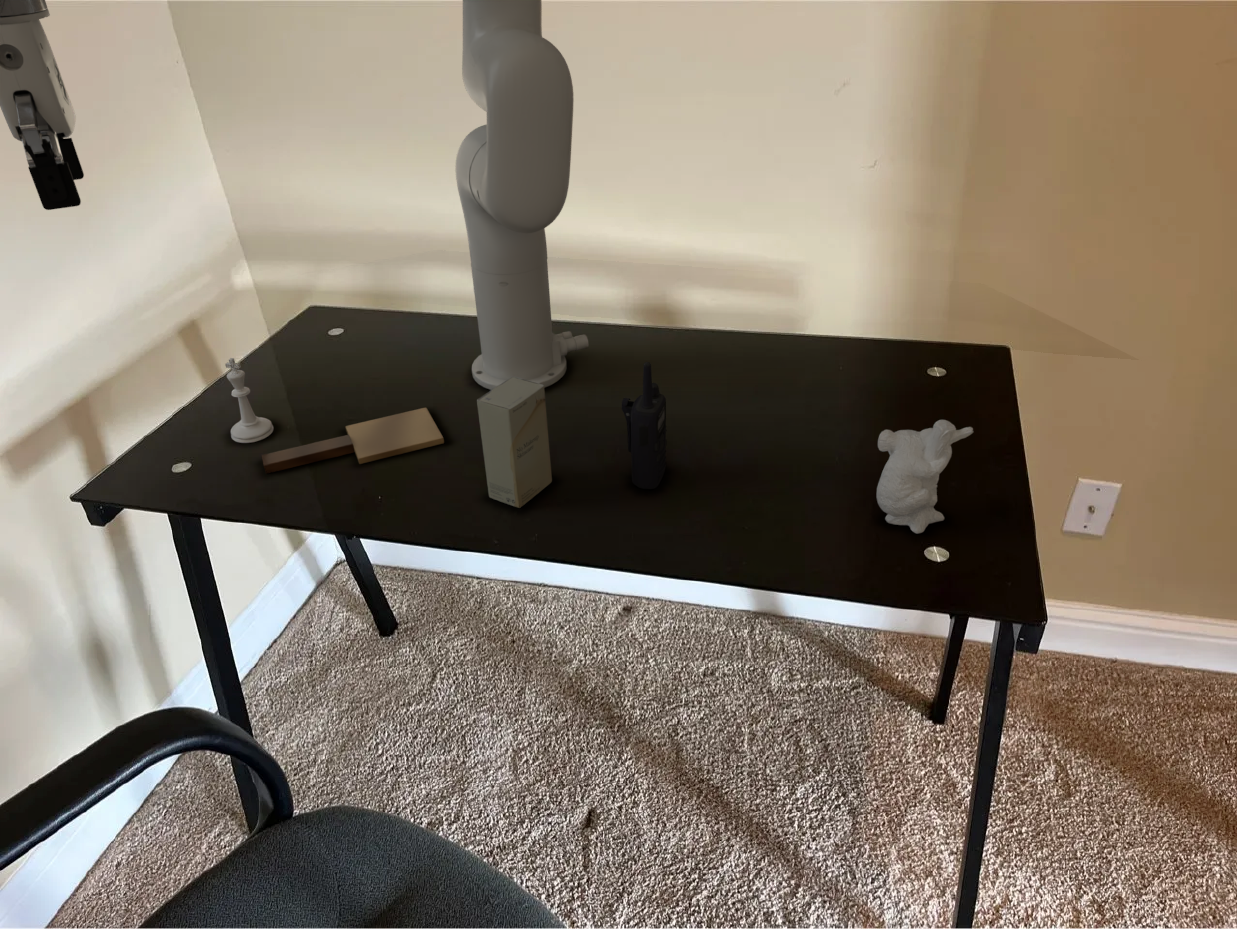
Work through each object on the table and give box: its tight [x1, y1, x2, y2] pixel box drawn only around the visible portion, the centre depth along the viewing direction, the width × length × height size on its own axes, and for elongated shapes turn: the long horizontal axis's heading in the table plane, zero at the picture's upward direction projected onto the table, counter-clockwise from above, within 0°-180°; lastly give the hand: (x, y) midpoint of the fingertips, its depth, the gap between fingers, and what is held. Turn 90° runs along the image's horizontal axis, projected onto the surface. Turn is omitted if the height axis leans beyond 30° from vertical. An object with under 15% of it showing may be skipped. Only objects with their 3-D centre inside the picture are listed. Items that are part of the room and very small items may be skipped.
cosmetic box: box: [476, 376, 553, 509], centre depth 97 cm, size 6×4×12 cm
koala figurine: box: [875, 419, 975, 535], centre depth 91 cm, size 8×7×12 cm
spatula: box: [261, 407, 445, 475], centre depth 108 cm, size 20×8×1 cm, turn 114°
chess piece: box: [224, 357, 274, 444], centre depth 109 cm, size 5×5×10 cm
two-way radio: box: [621, 361, 668, 490], centre depth 98 cm, size 6×4×15 cm
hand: (65, 192), depth 91 cm, fingers open, 9 cm apart
